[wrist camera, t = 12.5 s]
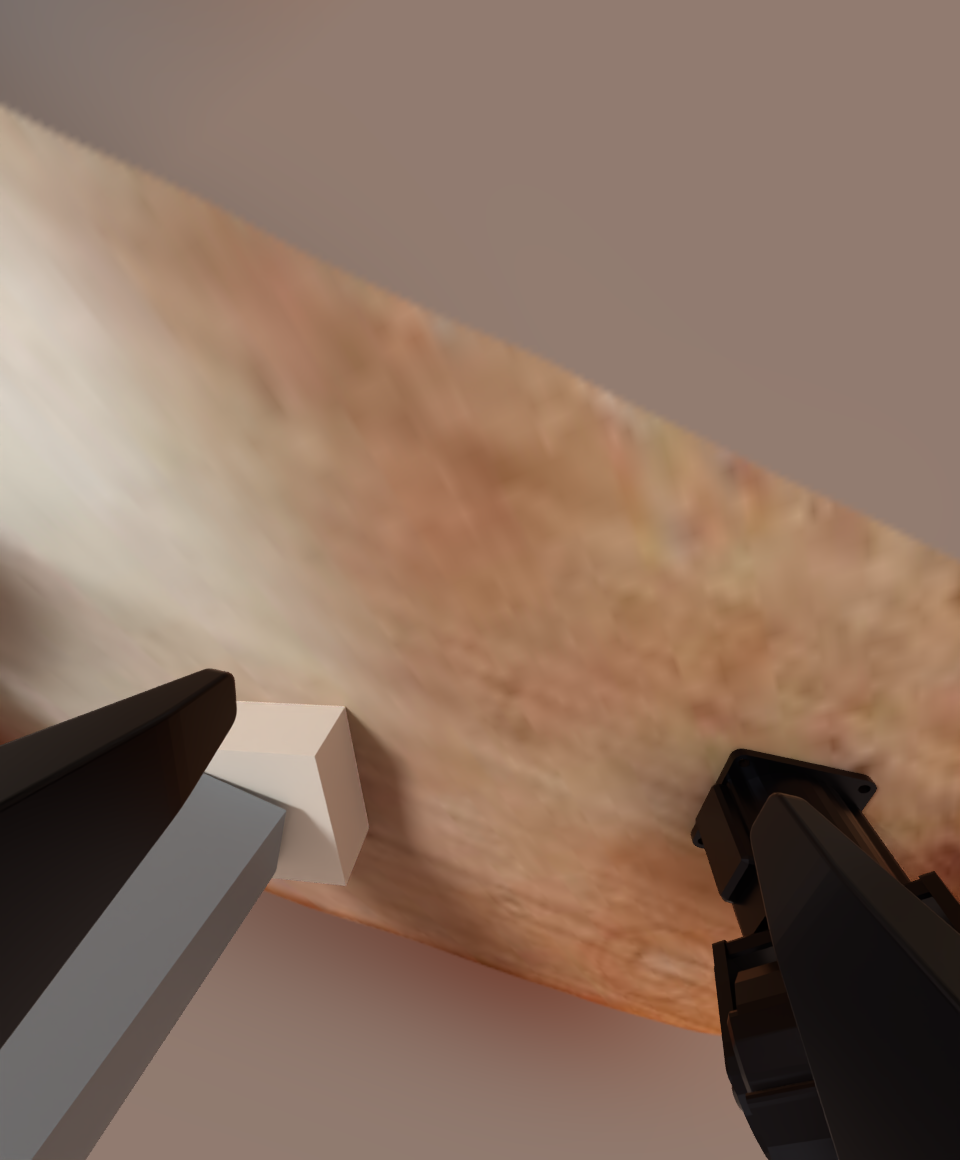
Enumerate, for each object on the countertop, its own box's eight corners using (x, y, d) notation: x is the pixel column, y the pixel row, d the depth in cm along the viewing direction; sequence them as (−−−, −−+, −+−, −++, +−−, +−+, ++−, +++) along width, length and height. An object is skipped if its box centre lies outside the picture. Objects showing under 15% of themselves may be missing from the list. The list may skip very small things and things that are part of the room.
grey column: (286, 810, 23) (-48, 1267, 11) (276, 871, 25) (-12, 1305, 13) (194, 769, 23) (-220, 1167, 11) (192, 832, 25) (-157, 1220, 14)
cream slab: (348, 701, 25) (314, 756, 22) (371, 821, 29) (346, 885, 25) (196, 694, 27) (140, 744, 23) (236, 809, 30) (193, 869, 27)
